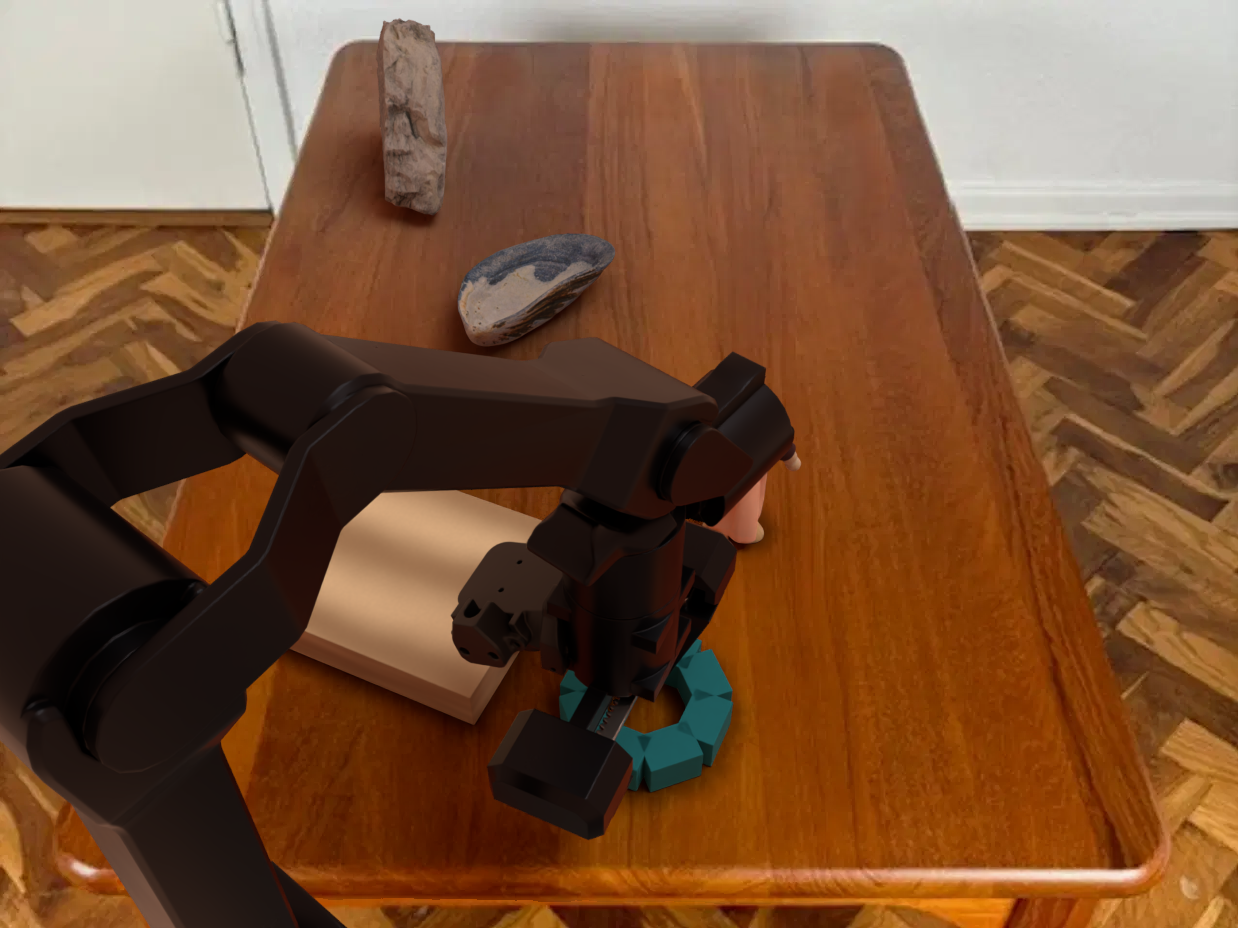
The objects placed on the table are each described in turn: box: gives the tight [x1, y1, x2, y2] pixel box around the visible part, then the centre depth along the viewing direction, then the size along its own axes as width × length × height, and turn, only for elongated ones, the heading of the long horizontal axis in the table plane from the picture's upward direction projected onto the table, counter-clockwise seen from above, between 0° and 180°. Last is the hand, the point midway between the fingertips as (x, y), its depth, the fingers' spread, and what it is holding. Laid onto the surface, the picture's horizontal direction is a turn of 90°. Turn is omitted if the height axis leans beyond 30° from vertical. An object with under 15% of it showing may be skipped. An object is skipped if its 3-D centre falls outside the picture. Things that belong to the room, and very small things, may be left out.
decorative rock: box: [375, 17, 448, 216], centre depth 107 cm, size 16×7×15 cm, turn 8°
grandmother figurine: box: [701, 442, 802, 544], centre depth 78 cm, size 8×4×13 cm, turn 111°
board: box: [289, 490, 543, 726], centre depth 77 cm, size 14×18×3 cm
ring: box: [558, 638, 734, 793], centre depth 71 cm, size 10×10×2 cm
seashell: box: [456, 232, 616, 347], centre depth 96 cm, size 15×12×5 cm
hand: (620, 742), depth 68 cm, fingers open, 9 cm apart
